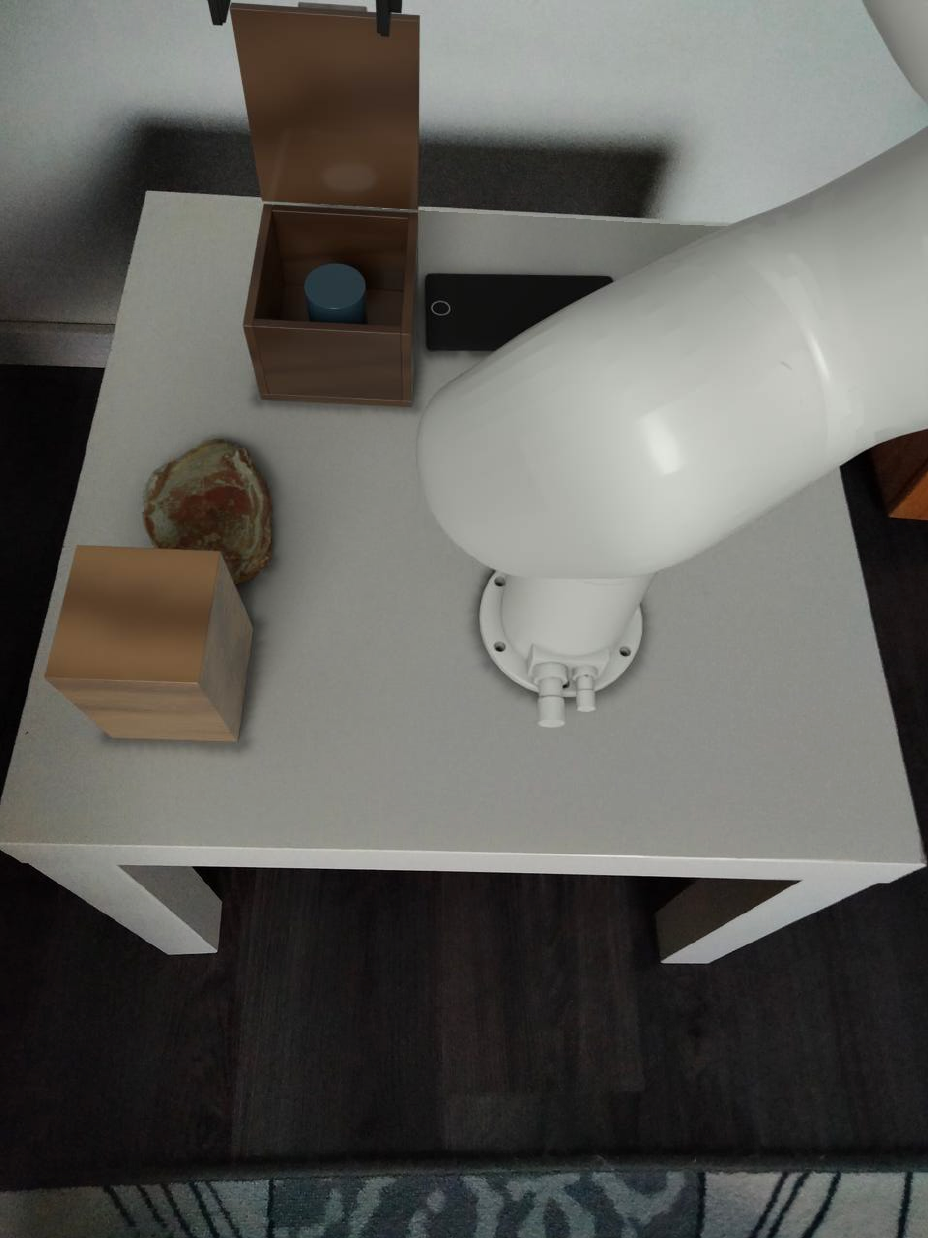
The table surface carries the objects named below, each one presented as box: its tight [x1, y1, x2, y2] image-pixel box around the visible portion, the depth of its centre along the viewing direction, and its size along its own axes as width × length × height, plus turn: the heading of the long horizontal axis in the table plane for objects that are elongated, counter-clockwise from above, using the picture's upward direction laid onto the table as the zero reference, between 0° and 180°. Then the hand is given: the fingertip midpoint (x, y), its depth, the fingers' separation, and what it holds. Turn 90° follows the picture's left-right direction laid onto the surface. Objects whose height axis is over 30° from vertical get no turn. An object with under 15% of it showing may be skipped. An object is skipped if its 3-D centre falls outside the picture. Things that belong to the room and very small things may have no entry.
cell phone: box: [424, 272, 615, 352], centre depth 78 cm, size 9×18×1 cm, turn 92°
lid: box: [229, 1, 421, 211], centre depth 65 cm, size 14×13×5 cm
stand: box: [44, 544, 254, 743], centre depth 57 cm, size 9×9×12 cm
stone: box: [141, 438, 274, 586], centre depth 66 cm, size 13×10×3 cm
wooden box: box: [242, 203, 420, 408], centre depth 72 cm, size 14×13×9 cm
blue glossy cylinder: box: [304, 264, 368, 325], centre depth 72 cm, size 5×5×7 cm
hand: (304, 17), depth 50 cm, fingers open, 9 cm apart
